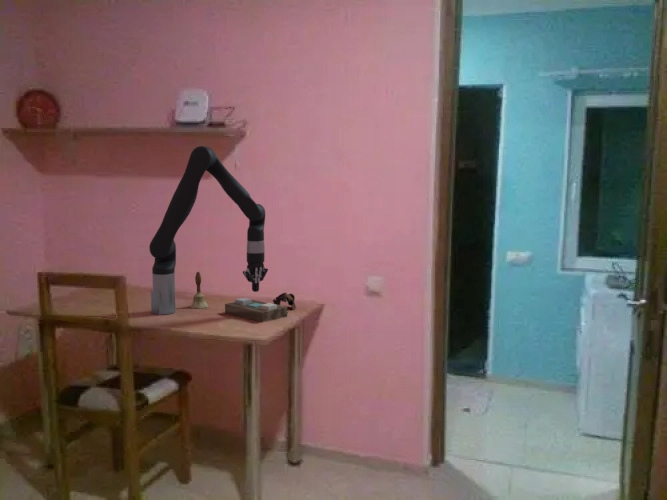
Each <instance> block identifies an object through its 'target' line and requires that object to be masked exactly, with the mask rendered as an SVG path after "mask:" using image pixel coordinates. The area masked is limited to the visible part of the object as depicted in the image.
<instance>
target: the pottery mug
mask: <svg viewBox="0 0 667 500" xmlns="http://www.w3.org/2000/svg"><path fill="white" fill-rule="evenodd" d="M295 299H296V297H295V295H294V294H293V293H289V294H288V293H287V292H283V293H280V294H279V295H278V296H276V297H275V298H274V299H273V300H272V302H273V304H276V305H280V306H281V302H283V303H287V304H288V305H289V306H290V307H291V310H292V311H294V310H296V309H297V306H296V303H295Z"/></svg>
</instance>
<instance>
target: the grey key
mask: <svg viewBox="0 0 667 500" xmlns="http://www.w3.org/2000/svg"><path fill="white" fill-rule="evenodd" d="M252 300H253V299H251V298H247V297H242V298H241V297H239V298H235V299H234V302H235V303H237V304H241V305H245V304H249V303H252Z"/></svg>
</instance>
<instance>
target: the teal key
mask: <svg viewBox="0 0 667 500" xmlns="http://www.w3.org/2000/svg"><path fill="white" fill-rule="evenodd" d="M260 305H262V304H258V303H254V304H249V305H248V306H250V307H254V308H256V307H260Z"/></svg>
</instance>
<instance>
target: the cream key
mask: <svg viewBox="0 0 667 500" xmlns="http://www.w3.org/2000/svg"><path fill="white" fill-rule="evenodd" d="M266 303H267V304H262V305H260V309H263V310H268V311H269V310H274V309H277V305H276V304H274V303H271V302H266Z"/></svg>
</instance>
